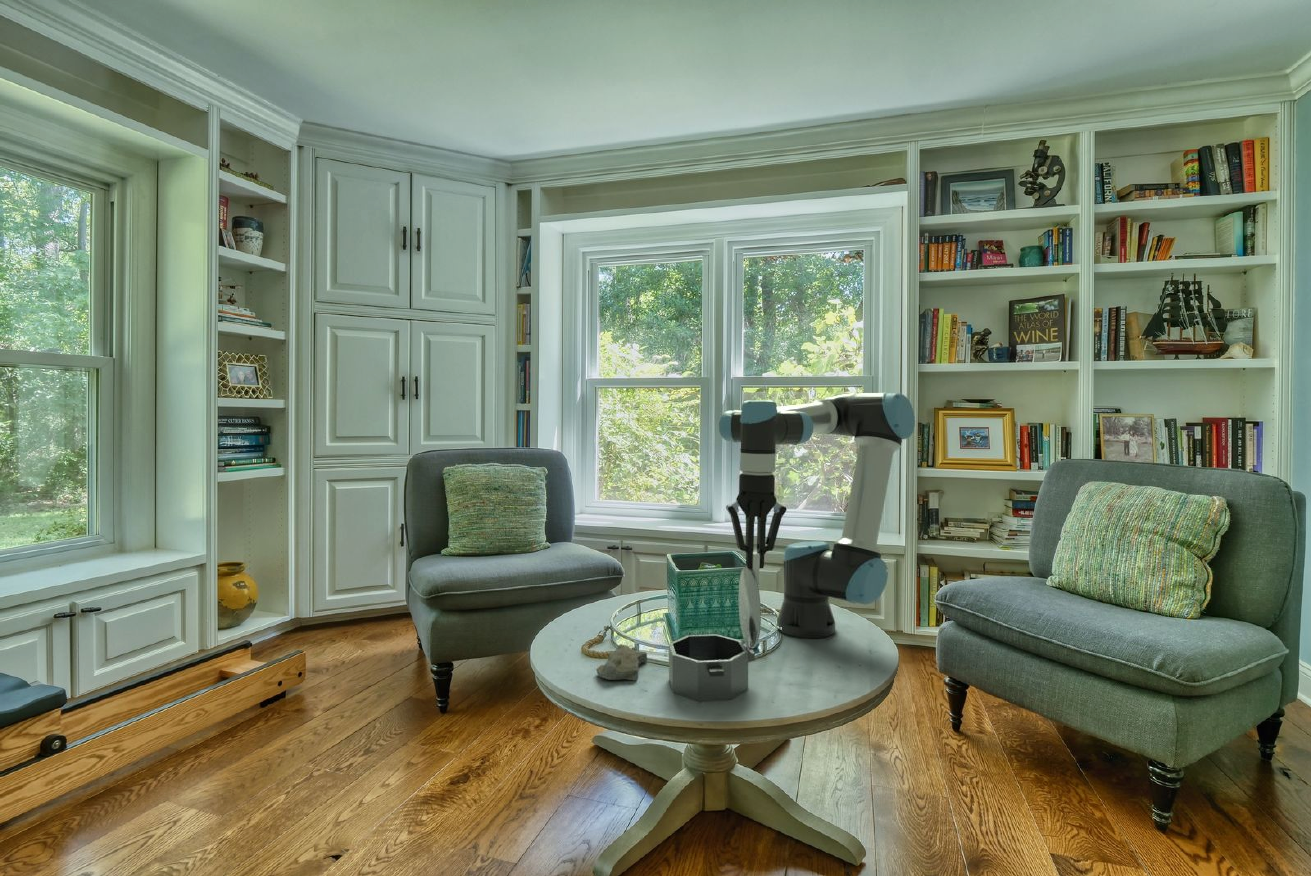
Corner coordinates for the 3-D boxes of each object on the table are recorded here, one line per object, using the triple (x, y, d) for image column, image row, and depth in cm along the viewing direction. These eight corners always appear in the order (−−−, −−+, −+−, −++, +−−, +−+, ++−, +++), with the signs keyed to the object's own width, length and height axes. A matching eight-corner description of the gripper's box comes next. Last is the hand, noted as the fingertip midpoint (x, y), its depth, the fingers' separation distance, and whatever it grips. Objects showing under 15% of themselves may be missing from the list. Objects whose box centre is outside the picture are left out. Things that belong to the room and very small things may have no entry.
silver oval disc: (737, 632, 154) (746, 632, 154) (756, 660, 137) (765, 660, 137) (739, 558, 153) (747, 558, 153) (757, 577, 136) (767, 577, 136)
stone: (609, 657, 161) (609, 641, 161) (648, 660, 159) (648, 643, 159) (591, 683, 147) (591, 664, 147) (635, 686, 145) (635, 667, 145)
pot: (741, 663, 156) (741, 629, 156) (764, 703, 135) (764, 664, 135) (665, 666, 155) (665, 632, 154) (677, 707, 134) (676, 668, 133)
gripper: (781, 472, 148) (778, 578, 149) (723, 471, 147) (721, 579, 148) (792, 475, 141) (788, 587, 142) (731, 474, 139) (728, 587, 140)
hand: (754, 583), depth 145 cm, fingers closed
